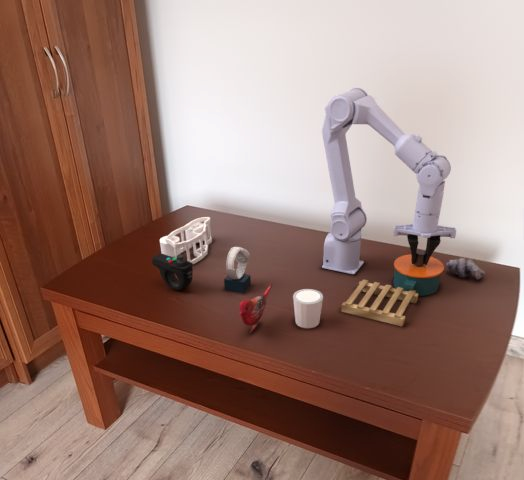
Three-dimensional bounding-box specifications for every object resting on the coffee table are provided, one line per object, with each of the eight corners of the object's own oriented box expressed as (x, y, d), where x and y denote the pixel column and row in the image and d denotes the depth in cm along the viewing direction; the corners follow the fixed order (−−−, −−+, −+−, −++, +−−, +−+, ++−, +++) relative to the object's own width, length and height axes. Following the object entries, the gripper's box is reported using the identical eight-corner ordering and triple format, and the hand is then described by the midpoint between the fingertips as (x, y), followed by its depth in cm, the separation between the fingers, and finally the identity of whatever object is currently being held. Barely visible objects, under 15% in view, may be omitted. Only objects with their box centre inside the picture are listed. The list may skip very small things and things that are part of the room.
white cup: (313, 332, 120) (314, 306, 116) (287, 324, 123) (287, 298, 119) (327, 318, 125) (328, 292, 121) (301, 311, 128) (301, 285, 124)
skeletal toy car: (197, 236, 165) (195, 213, 160) (226, 243, 160) (224, 220, 155) (154, 261, 151) (150, 237, 147) (183, 270, 146) (180, 246, 142)
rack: (341, 311, 127) (341, 302, 126) (359, 287, 136) (360, 278, 135) (402, 326, 121) (403, 317, 120) (417, 300, 130) (419, 291, 129)
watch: (253, 282, 140) (252, 243, 134) (241, 296, 134) (239, 257, 128) (234, 278, 142) (232, 240, 135) (221, 292, 136) (218, 253, 129)
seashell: (482, 283, 139) (444, 276, 143) (488, 263, 138) (449, 257, 143) (481, 279, 134) (441, 272, 138) (487, 258, 134) (447, 252, 138)
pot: (384, 294, 133) (386, 277, 130) (403, 267, 145) (405, 250, 142) (429, 304, 129) (432, 287, 126) (444, 275, 140) (448, 258, 137)
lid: (387, 274, 132) (389, 257, 129) (401, 254, 141) (403, 238, 138) (436, 284, 127) (439, 267, 124) (448, 263, 136) (451, 247, 133)
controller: (187, 297, 135) (182, 261, 129) (153, 284, 141) (147, 249, 135) (198, 290, 137) (194, 255, 132) (164, 277, 143) (159, 243, 138)
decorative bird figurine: (235, 343, 118) (233, 304, 112) (267, 304, 131) (266, 268, 125) (247, 345, 117) (245, 307, 111) (277, 306, 130) (277, 270, 124)
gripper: (397, 216, 123) (390, 268, 131) (462, 218, 121) (451, 271, 129) (395, 205, 128) (389, 256, 136) (457, 206, 126) (447, 258, 134)
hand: (419, 262), depth 133 cm, fingers closed on lid, 2 cm apart
